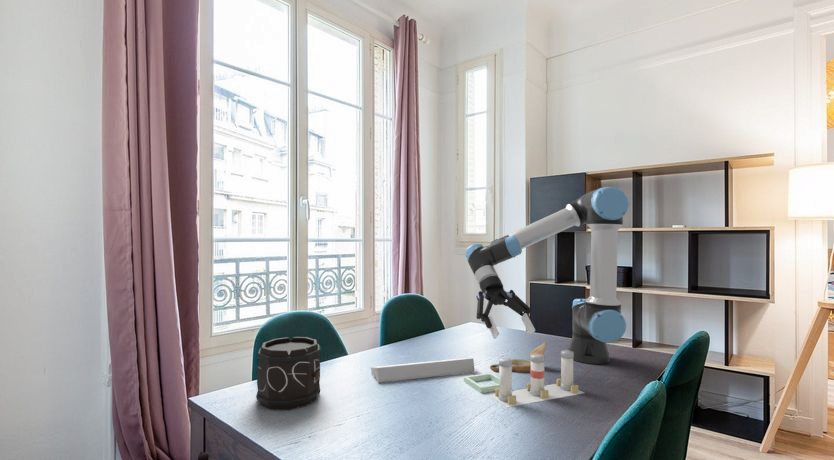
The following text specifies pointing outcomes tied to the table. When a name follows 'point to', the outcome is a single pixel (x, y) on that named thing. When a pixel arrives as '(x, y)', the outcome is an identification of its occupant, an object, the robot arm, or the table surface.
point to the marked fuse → (537, 374)
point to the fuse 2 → (567, 369)
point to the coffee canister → (288, 373)
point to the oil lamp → (522, 361)
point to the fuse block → (525, 397)
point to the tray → (482, 389)
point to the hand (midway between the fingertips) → (515, 334)
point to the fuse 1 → (505, 379)
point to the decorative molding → (422, 369)
